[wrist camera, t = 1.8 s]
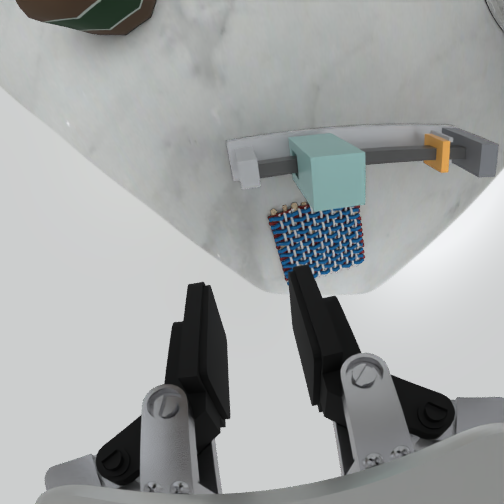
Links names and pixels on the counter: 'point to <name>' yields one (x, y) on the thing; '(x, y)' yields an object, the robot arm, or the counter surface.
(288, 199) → the counter surface
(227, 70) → the counter surface
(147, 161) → the counter surface
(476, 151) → the teal block rod stand
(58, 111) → the counter surface
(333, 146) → the teal sliding block
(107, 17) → the beer bottle
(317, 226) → the woven mat
